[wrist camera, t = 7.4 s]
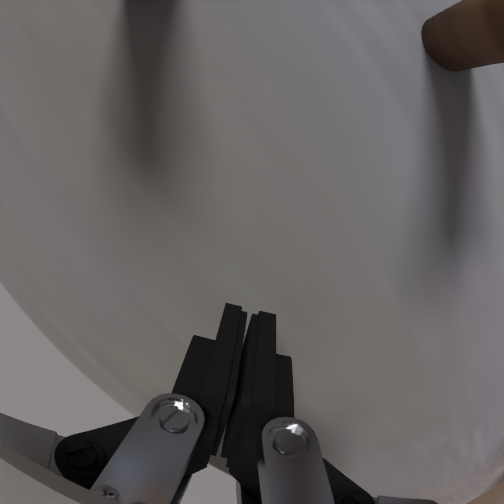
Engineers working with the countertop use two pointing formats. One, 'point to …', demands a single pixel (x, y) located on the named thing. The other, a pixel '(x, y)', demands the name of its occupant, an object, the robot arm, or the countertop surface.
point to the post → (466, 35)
